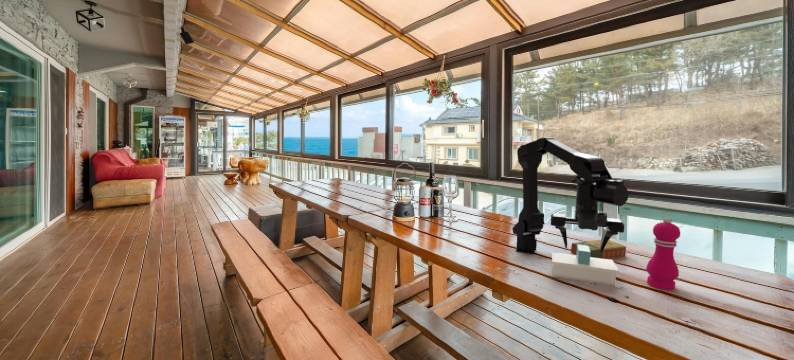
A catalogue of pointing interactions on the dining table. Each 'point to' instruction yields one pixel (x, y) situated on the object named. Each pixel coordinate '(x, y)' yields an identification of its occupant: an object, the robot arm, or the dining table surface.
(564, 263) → the lid
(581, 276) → the box base
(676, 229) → the pepper mill
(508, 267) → the dining table surface
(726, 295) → the dining table surface
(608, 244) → the carton
